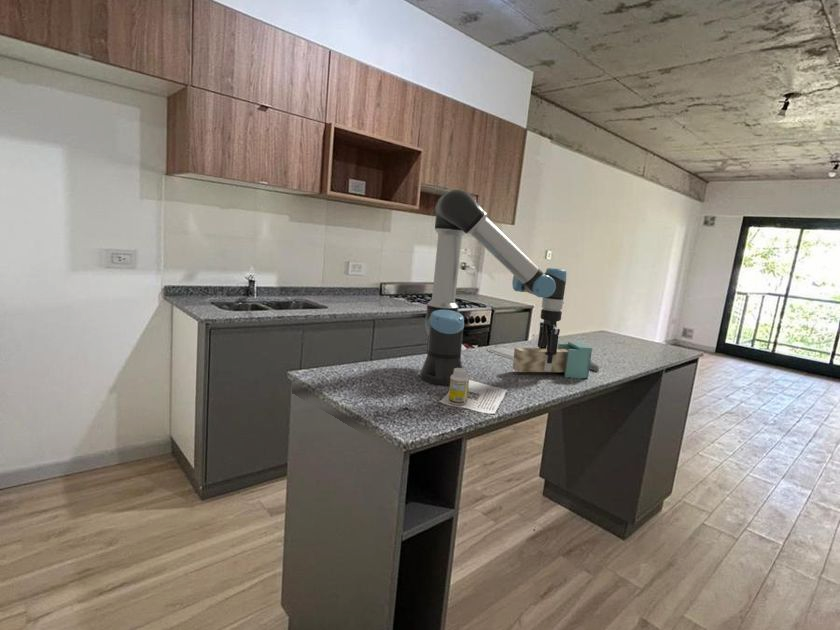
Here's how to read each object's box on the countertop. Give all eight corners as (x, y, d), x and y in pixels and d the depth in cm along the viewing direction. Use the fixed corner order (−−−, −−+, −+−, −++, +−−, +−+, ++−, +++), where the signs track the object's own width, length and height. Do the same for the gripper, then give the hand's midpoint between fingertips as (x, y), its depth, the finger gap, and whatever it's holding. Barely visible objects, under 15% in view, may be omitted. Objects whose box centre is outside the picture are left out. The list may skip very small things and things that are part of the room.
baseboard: (542, 371, 180) (560, 368, 187) (543, 364, 179) (561, 361, 187) (485, 352, 203) (503, 350, 211) (486, 346, 203) (504, 344, 210)
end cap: (565, 377, 171) (569, 346, 169) (554, 370, 181) (558, 340, 179) (587, 378, 172) (592, 348, 170) (576, 371, 182) (580, 342, 180)
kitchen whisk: (591, 373, 181) (593, 358, 180) (559, 352, 215) (561, 339, 214) (605, 374, 182) (608, 358, 181) (571, 353, 215) (573, 340, 214)
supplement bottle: (457, 398, 140) (460, 366, 138) (470, 403, 135) (473, 370, 134) (444, 401, 136) (447, 368, 134) (457, 407, 132) (460, 373, 130)
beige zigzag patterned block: (518, 371, 170) (520, 351, 168) (512, 367, 174) (514, 347, 173) (575, 372, 175) (578, 352, 174) (568, 368, 180) (570, 348, 179)
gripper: (571, 314, 162) (563, 376, 166) (551, 306, 180) (544, 362, 184) (551, 312, 161) (543, 375, 165) (533, 305, 180) (526, 361, 183)
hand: (544, 368), depth 175 cm, fingers closed on beige zigzag patterned block, 5 cm apart
